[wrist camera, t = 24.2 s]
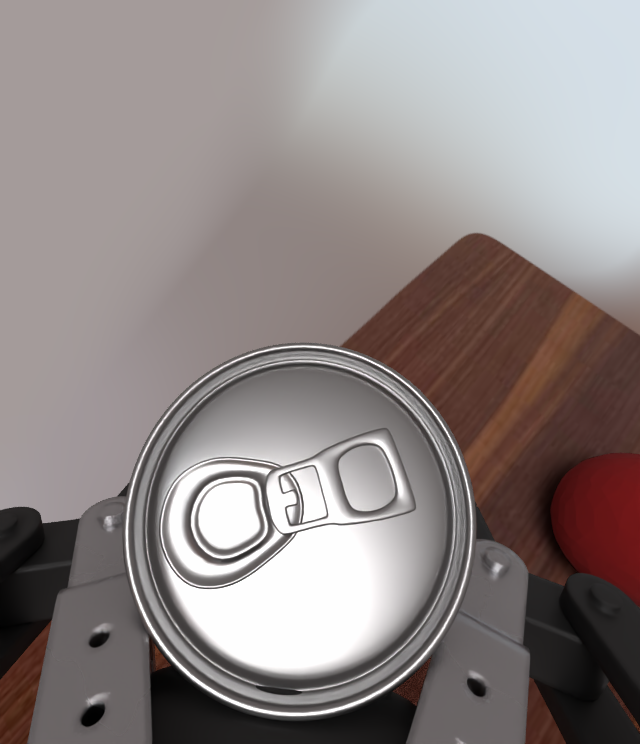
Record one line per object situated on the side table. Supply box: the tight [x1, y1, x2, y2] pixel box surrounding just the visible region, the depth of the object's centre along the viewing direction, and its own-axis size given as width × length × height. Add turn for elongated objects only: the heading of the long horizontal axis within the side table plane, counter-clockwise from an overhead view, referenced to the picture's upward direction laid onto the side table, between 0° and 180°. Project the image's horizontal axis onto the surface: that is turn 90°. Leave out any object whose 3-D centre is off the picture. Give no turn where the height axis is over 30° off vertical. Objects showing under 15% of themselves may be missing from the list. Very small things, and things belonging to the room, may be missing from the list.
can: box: [122, 343, 477, 721], centre depth 11 cm, size 6×6×12 cm
